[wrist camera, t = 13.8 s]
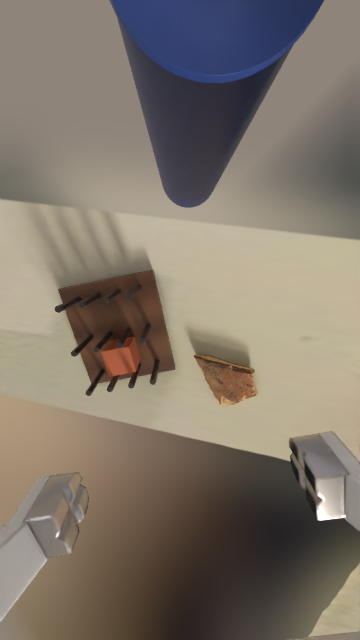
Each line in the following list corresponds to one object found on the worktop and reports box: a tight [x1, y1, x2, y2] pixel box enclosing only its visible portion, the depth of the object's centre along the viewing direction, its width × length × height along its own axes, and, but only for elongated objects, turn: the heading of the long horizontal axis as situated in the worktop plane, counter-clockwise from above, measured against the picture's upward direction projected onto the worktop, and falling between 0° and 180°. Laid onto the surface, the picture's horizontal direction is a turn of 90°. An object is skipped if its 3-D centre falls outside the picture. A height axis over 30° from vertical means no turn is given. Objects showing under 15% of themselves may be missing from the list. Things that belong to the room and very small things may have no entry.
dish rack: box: [55, 270, 175, 396], centre depth 32 cm, size 16×14×7 cm
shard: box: [194, 355, 258, 406], centre depth 37 cm, size 11×8×2 cm
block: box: [101, 336, 140, 377], centre depth 34 cm, size 4×4×4 cm
